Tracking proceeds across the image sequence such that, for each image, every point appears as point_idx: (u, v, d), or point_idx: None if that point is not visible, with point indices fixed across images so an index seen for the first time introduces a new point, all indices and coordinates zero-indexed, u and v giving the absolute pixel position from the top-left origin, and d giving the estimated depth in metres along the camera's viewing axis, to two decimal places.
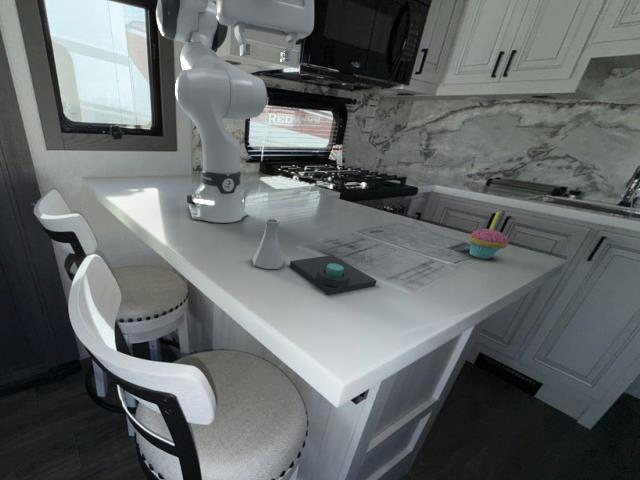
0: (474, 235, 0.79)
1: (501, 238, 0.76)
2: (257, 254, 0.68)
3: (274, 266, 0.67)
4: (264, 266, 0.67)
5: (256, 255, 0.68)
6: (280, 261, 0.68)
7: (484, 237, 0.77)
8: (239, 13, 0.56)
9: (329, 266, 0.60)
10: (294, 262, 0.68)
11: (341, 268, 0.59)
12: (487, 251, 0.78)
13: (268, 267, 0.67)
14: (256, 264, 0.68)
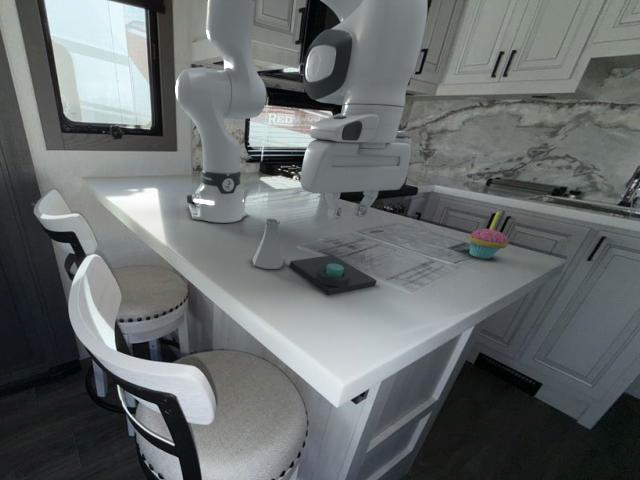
0: (474, 235, 0.79)
1: (501, 238, 0.76)
2: (257, 254, 0.68)
3: (274, 266, 0.67)
4: (264, 266, 0.67)
5: (256, 255, 0.68)
6: (280, 261, 0.68)
7: (484, 237, 0.77)
8: (329, 186, 0.48)
9: (329, 266, 0.60)
10: (294, 262, 0.68)
11: (341, 268, 0.59)
12: (487, 251, 0.78)
13: (268, 267, 0.67)
14: (256, 264, 0.68)
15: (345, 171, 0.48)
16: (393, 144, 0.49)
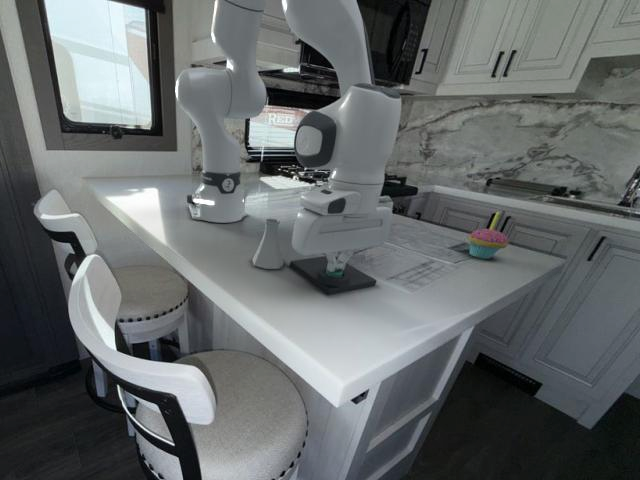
0: (474, 235, 0.79)
1: (501, 238, 0.76)
2: (257, 254, 0.68)
3: (274, 266, 0.67)
4: (264, 266, 0.67)
5: (256, 255, 0.68)
6: (280, 261, 0.68)
7: (484, 237, 0.77)
8: (318, 250, 0.53)
9: None
10: (294, 262, 0.68)
11: (340, 271, 0.59)
12: (487, 251, 0.78)
13: (268, 267, 0.67)
14: (256, 264, 0.68)
15: (332, 235, 0.53)
16: (375, 210, 0.54)
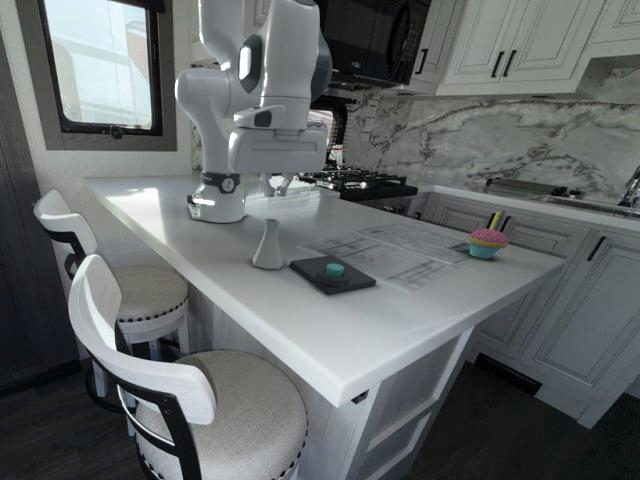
0: (474, 235, 0.79)
1: (501, 238, 0.76)
2: (257, 254, 0.68)
3: (274, 266, 0.67)
4: (264, 266, 0.67)
5: (256, 255, 0.68)
6: (280, 261, 0.68)
7: (484, 237, 0.77)
8: (251, 168, 0.56)
9: (329, 266, 0.60)
10: (294, 262, 0.68)
11: (341, 268, 0.59)
12: (487, 251, 0.78)
13: (268, 267, 0.67)
14: (256, 264, 0.68)
15: (264, 154, 0.55)
16: (308, 131, 0.57)
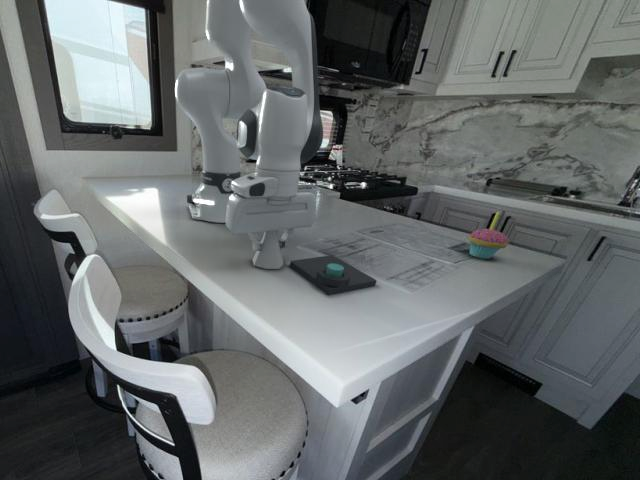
0: (474, 235, 0.79)
1: (501, 238, 0.76)
2: (257, 254, 0.68)
3: (274, 266, 0.67)
4: (264, 266, 0.67)
5: (256, 255, 0.68)
6: (280, 261, 0.68)
7: (484, 237, 0.77)
8: (247, 228, 0.61)
9: (329, 266, 0.60)
10: (294, 262, 0.68)
11: (341, 268, 0.59)
12: (487, 251, 0.78)
13: (268, 267, 0.67)
14: (256, 264, 0.68)
15: (258, 216, 0.61)
16: (298, 194, 0.63)
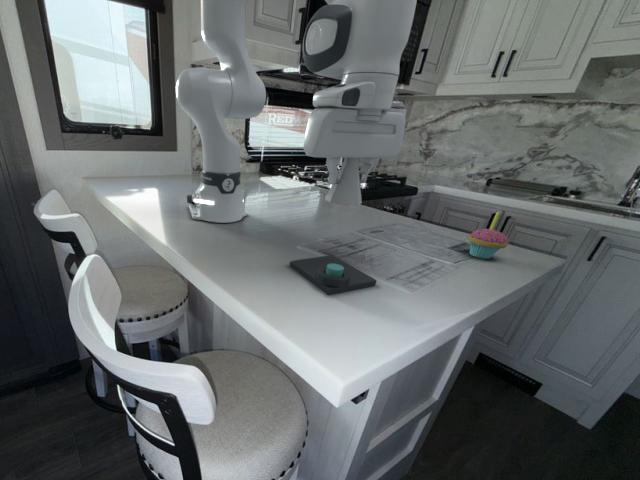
0: (474, 235, 0.79)
1: (501, 238, 0.76)
2: (333, 189, 0.59)
3: (354, 202, 0.58)
4: (342, 202, 0.58)
5: (331, 191, 0.59)
6: (359, 198, 0.59)
7: (484, 237, 0.77)
8: (330, 151, 0.52)
9: (329, 266, 0.60)
10: (294, 262, 0.68)
11: (341, 268, 0.59)
12: (487, 251, 0.78)
13: (347, 203, 0.58)
14: (332, 201, 0.58)
15: (344, 136, 0.52)
16: (389, 113, 0.53)
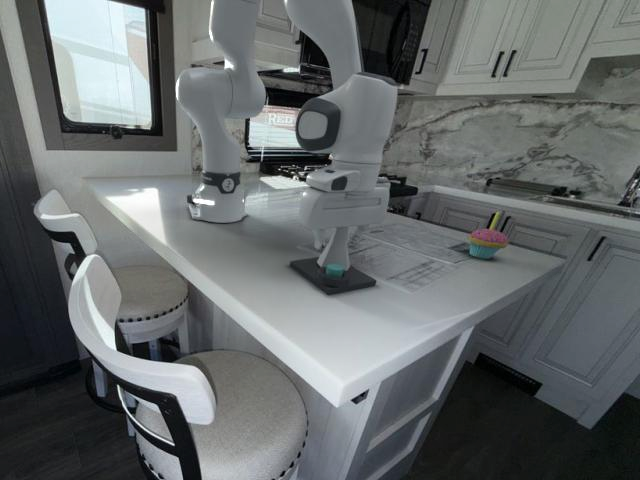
0: (474, 235, 0.79)
1: (501, 238, 0.76)
2: (324, 255, 0.65)
3: None
4: None
5: (323, 256, 0.66)
6: (347, 263, 0.66)
7: (484, 237, 0.77)
8: (321, 225, 0.59)
9: (329, 266, 0.60)
10: (294, 262, 0.68)
11: (341, 268, 0.59)
12: (487, 251, 0.78)
13: None
14: (323, 266, 0.65)
15: (334, 212, 0.58)
16: (374, 189, 0.60)
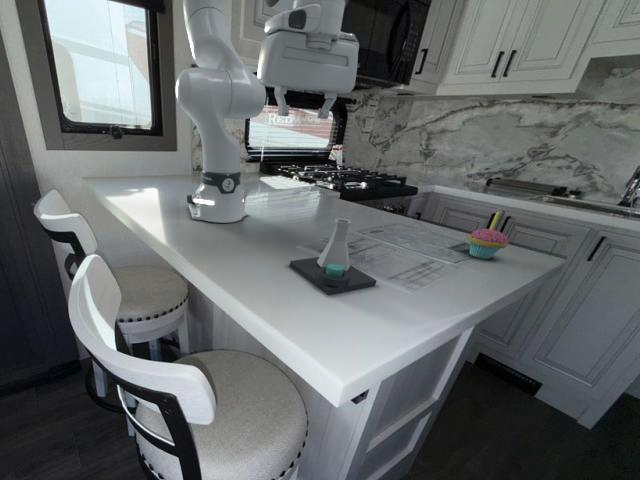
0: (474, 235, 0.79)
1: (501, 238, 0.76)
2: (324, 255, 0.65)
3: None
4: None
5: (323, 256, 0.66)
6: (347, 263, 0.66)
7: (484, 237, 0.77)
8: (282, 78, 0.54)
9: (329, 266, 0.60)
10: (294, 262, 0.68)
11: (341, 268, 0.59)
12: (487, 251, 0.78)
13: None
14: (323, 266, 0.65)
15: (296, 63, 0.54)
16: (340, 43, 0.55)
